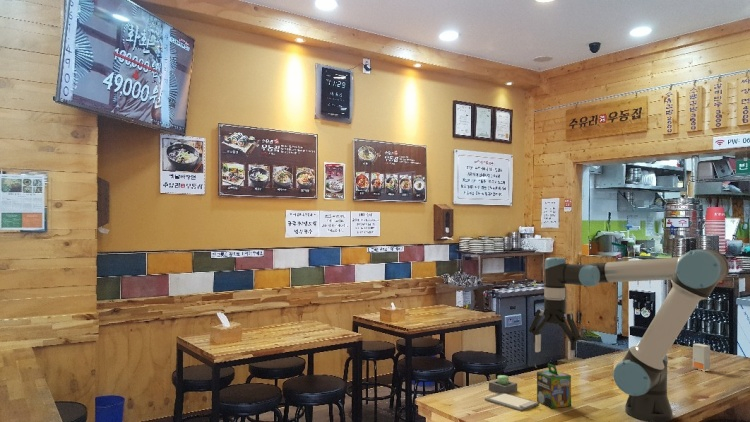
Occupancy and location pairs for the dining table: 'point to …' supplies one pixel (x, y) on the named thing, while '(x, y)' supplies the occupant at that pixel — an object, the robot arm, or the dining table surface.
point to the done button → (503, 380)
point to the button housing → (502, 387)
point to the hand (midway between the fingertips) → (553, 355)
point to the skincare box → (701, 356)
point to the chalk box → (553, 388)
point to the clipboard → (512, 401)
